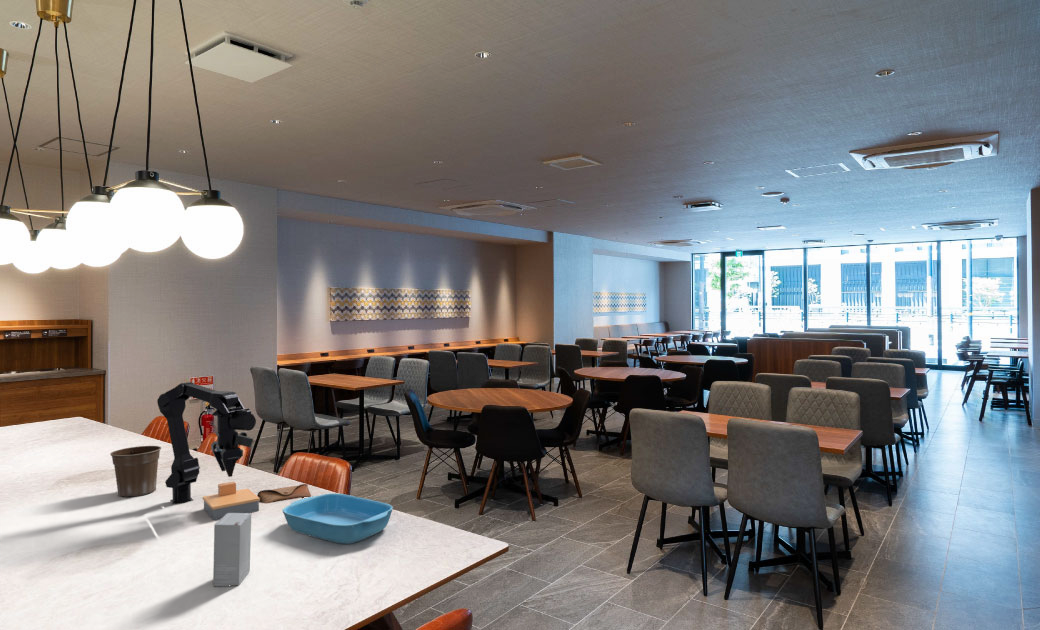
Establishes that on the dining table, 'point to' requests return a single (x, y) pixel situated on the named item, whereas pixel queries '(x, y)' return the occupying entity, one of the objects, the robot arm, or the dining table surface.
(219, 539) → the skincare box
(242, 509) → the tub
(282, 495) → the sunglasses case
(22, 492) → the dining table surface
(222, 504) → the lid
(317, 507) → the casserole dish
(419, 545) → the dining table surface
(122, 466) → the plant pot
